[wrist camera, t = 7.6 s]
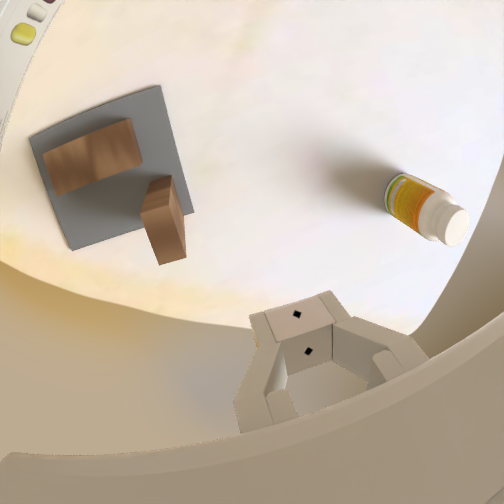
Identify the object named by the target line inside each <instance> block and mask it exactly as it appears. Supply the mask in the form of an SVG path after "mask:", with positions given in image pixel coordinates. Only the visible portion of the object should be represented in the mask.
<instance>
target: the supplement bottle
mask: <svg viewBox="0 0 504 504" xmlns="http://www.w3.org/2000/svg"><path fill="white" fill-rule="evenodd" d="M384 202H385V206H386V209H387V211H388V212H389V213H390V214H391V215H392V216H394V217H395V218H397V219H398V220H400V221H401V222H403V223H404V224H406V225H407V226H409V227H410V228H412V229H413V230H414V231H416V232H417V233H419V234H420V235H421V236H423V237H424V238H426V239H427V240H430V241H438V240H440V241H441V242H443V243H444V244H446V245H447V246H449V247H454V246H456V245H458V244H459V243H460V242H461V241H462V240H463V238H464V237H465V235H466V233H467V231H468V228H469V223H470V218H469V214H468V212H467V211H466V210H465V209H463V208H461V207H460V206H458V205H456V202H455V200H454V198H453V197H452V196H451V195H450V194H449V193H447V192H446V191H444V190H442V189H439V188H437V187H435V186H433V185H431V184H429V183H427V182H425V181H423V180H421V179H419V178H417V177H415V176H412V175H409V174H400V175H398V176H396V177H395V178H394V179H392V181H391V182H390V183H389V185H388V186H387V188H386V191H385V197H384Z"/></svg>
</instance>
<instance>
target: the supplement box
mask: <svg viewBox="0 0 504 504" xmlns="http://www.w3.org/2000/svg"><path fill="white" fill-rule="evenodd" d="M64 2H65V0H0V150H1V146H2V143H3V139H4V135H5V132H6V128H7V125H8V122H9V119H10V116H11V113H12V110H13V107H14V104H15V102H16V99H17V96H18V94H19V91H20V88H21V86H22V83H23V81H24V79H25V76H26V74H27V72H28V69H29V67H30V65H31V63H32V61H33V58H34V56H35V54H36V52H37V50H38V48H39V46H40V44H41V42H42V40H43V38H44V36H45V35H46V33H47V31H48V29H49V27H50V25H51V24H52V22H53V20H54V19H55V17H56V15H57V13H58V12H59V10H60V8H61V7H62V5H63V4H64Z"/></svg>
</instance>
